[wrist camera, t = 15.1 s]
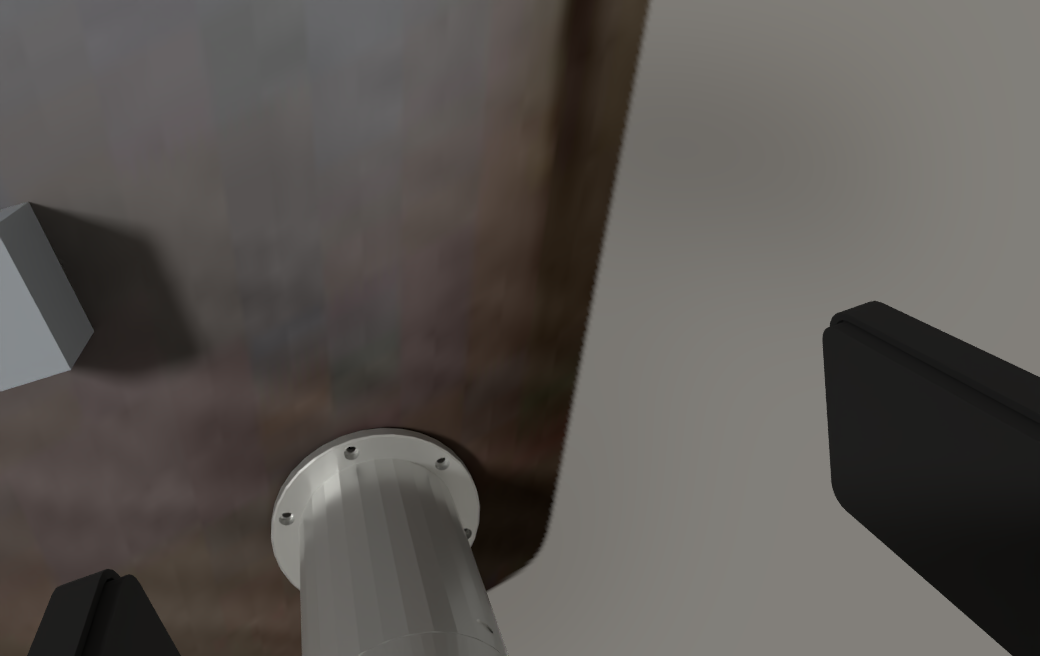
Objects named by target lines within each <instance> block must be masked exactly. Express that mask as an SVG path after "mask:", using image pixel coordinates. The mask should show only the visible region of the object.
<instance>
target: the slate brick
mask: <svg viewBox="0 0 1040 656" xmlns="http://www.w3.org/2000/svg"><path fill="white" fill-rule="evenodd" d="M93 333H94V330H93V328H92V326H91V324H90V322H89V320H88V318H87V316H86V314H85V312H84V310H83V308H82V306H81V304H80V302H79V300H78V298H77V296H76V294H75V292H74V290H73V288H72V286H71V285H70V283H69V281H68V279H67V277H66V275H65V273H64V271H63V269H62V267H61V265H60V263H59V261H58V259H57V257H56V255H55V253H54V251H53V249H52V247H51V245H50V243H49V241H48V239H47V237H46V235H45V233H44V231H43V229H42V227H41V225H40V223H39V221H38V219H37V217H36V215H35V214H34V212H33V210H32V208H31V206H30V204H29V202H26V203H22V204H19V205H15V206H11V207H8V208H4V209H0V391H3V390H7V389H10V388H13V387H16V386H20V385H23V384H26V383H29V382H33V381H36V380H39V379H42V378H46V377H49V376H52V375H55V374H59V373H62V372H65V371H68V370H71V369H72V367H73V365H74V364H75V362H76V360H77V359H78V357H79V356H80V354H81V352H82V351H83V349H84V347H85V346H86V344H87V342H88V341H89V339H90V337H91V336H92V334H93Z"/></svg>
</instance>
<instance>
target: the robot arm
mask: <svg viewBox="0 0 1040 656" xmlns="http://www.w3.org/2000/svg"><path fill="white" fill-rule="evenodd" d="M823 356H824V372H825V386H826V387H825V388H826V402H827V418H828V435H829V449H830V466H831V482H832V488H833V491H834V493H835V496H836V498H837V500H838V501H839V503H840V504H841V506H842V507H843V508H844V509H845V510H846V511H847V512H848V513H849V514H851V515H852V516H853V517H854V518H855V519H856V520H858V521H859V522H860V523H861V524H862V525H863V526H864V527H865V528H867V529H868V530H869V531H870V532H871V533H872V534H874V535H875V536H876V537H877V538H878V539H879V540H881V541H882V542H883V543H884V544H885V545H886V546H887V547H889V548H890V549H891V550H892V551H893V552H894V553H896V555H898V556H899V557H900V558H901V559H902V560H903V561H904V562H906V563H907V564H908V565H909V566H910V567H911V568H913V569H914V570H915V571H916V572H917V573H918V574H919V575H921V576H922V577H923V578H924V579H925V580H926V581H927V582H929V583H930V584H931V585H932V586H933V587H934V588H936V589H937V590H938V591H939V592H940V593H941V594H942V595H944V596H945V597H946V598H947V599H948V600H949V601H951V602H952V603H953V604H954V605H955V606H956V607H957V608H958V609H960V610H961V611H962V612H963V613H964V614H965V615H967V616H968V617H969V618H970V619H971V620H972V621H973V622H975V623H976V624H977V625H978V626H979V627H980V628H981V629H983V630H984V631H985V632H986V633H987V634H988V635H989V636H991V637H992V638H993V639H994V640H995V641H996V642H997V643H999V644H1000V645H1001V646H1002V647H1003V648H1004V649H1005V650H1007V651H1008V652H1009V653H1010V654H1011V655H1012V656H1040V377H1038V376H1036V375H1034V374H1032V373H1030V372H1027V371H1026V370H1023V369H1021V368H1019V367H1017V366H1015V365H1013V364H1010V363H1009V362H1006V361H1004V360H1002V359H1000V358H998V357H996V356H994V355H992V354H989V353H987V352H985V351H983V350H981V349H979V348H977V347H975V346H973V345H970V344H968V343H966V342H964V341H962V340H960V339H958V338H955V337H953V336H951V335H949V334H947V333H945V332H942V331H941V330H939V329H937V328H934V327H932V326H930V325H928V324H926V323H924V322H922V321H919V320H917V319H915V318H913V317H911V316H909V315H907V314H904V313H903V312H900V311H898V310H896V309H894V308H892V307H890V306H888V305H886V304H884V303H881V302H878V301H873V302H868V303H865V304H862V305H859V306H856V307H854V308H851V309H848V310H845V311H842V312H839V313H837V314H835V315H834V316H833V317H832V320H831V322H830V327H828V328H827V329H825V331H824V333H823ZM349 447H354V448H352V449H348V448H349ZM440 458H442V459H440ZM438 459H440V460H438ZM288 512H289V513H288ZM479 518H480V504H479V498H478V493H477V489H476V486H475V484H474V481H473V479H472V476H471V475H470V473H469V471H468V469H467V468H466V466H465V464H464V462H463V461H462V460H461V459H460V458H459V457H458V456H457V455H456V454H455V453H454V452H453V451H452V450H451V449H450V448H448V447H447V446H445V445H444V444H442V443H441V442H440V441H438V440H436V439H434V438H431V437H429V436H427V435H424V434H422V433H419V432H414V431H410V430H405V429H396V428H377V429H369V430H361V431H358V432H354V433H351V434H348V435H344V436H341V437H339V438H337V439H335V440H333V441H331V442H329V443H327V444H324V445H322V446H321V447H320V448H318V449H317V450H315V451H314V452H313V453H311V454H310V455H308V456H307V457H306V458H305V459H304V460H303V461H302V462H301V463H300V464H299V465H298V466H297V467H296V468H295V469H294V470H293V471H292V472H291V473H290V475H289V476H288V478H287V479H286V481H285V482H284V484H283V485H282V487H281V489H280V491H279V494H278V496H277V499H276V501H275V504H274V508H273V514H272V520H271V541H272V546H273V551H274V556H275V558H276V560H277V562H278V564H279V566H280V569H281V571H282V572H283V573H284V574H285V576H286V577H287V578H288V580H289V581H290V582H291V583H292V584H293V585H294V586H295V587H296V588H298V589H299V590H300V597H301V633H302V656H509V655H508V652H507V649H506V646H505V644H504V641H503V638H502V635H501V632H500V629H499V627H498V624H497V621H496V618H495V615H494V613H493V610H492V607H491V604H490V601H489V598H488V595H487V593H486V590H485V587H484V584H483V581H482V579H481V576H480V573H479V570H478V567H477V564H476V562H475V559H474V556H473V553H472V550H471V546H472V544H473V542H474V540H475V537H476V533H477V529H478V526H479ZM27 656H181V655H180V653H179V652H178V650H177V648H176V646H175V645H174V643H173V641H172V639H171V638H170V636H169V634H168V632H167V631H166V629H165V627H164V625H163V623H162V622H161V620H160V618H159V616H158V615H157V613H156V611H155V609H154V608H153V606H152V604H151V602H150V600H149V599H148V597H147V595H146V593H145V592H144V590H143V588H142V586H141V585H140V583H139V582H138V580H137V579H136V578H135V577H134V576H133V575H126V576H123V577H120V576H119V575H118V574H117V573H116V572H115V571H114V570H111V569H106V570H103V571H100V572H98V573H95V574H92V575H89V576H86V577H83V578H80V579H78V580H75V581H72V582H69V583H66V584H63V585H61V586H59V587H57V588H56V589H55V591H54V592H53V594H52V596H51V598H50V601H49V603H48V606H47V608H46V611H45V613H44V616H43V618H42V621H41V623H40V626H39V628H38V631H37V633H36V636H35V638H34V640H33V643H32V645H31V648H30V650H29V653H28V655H27Z"/></svg>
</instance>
